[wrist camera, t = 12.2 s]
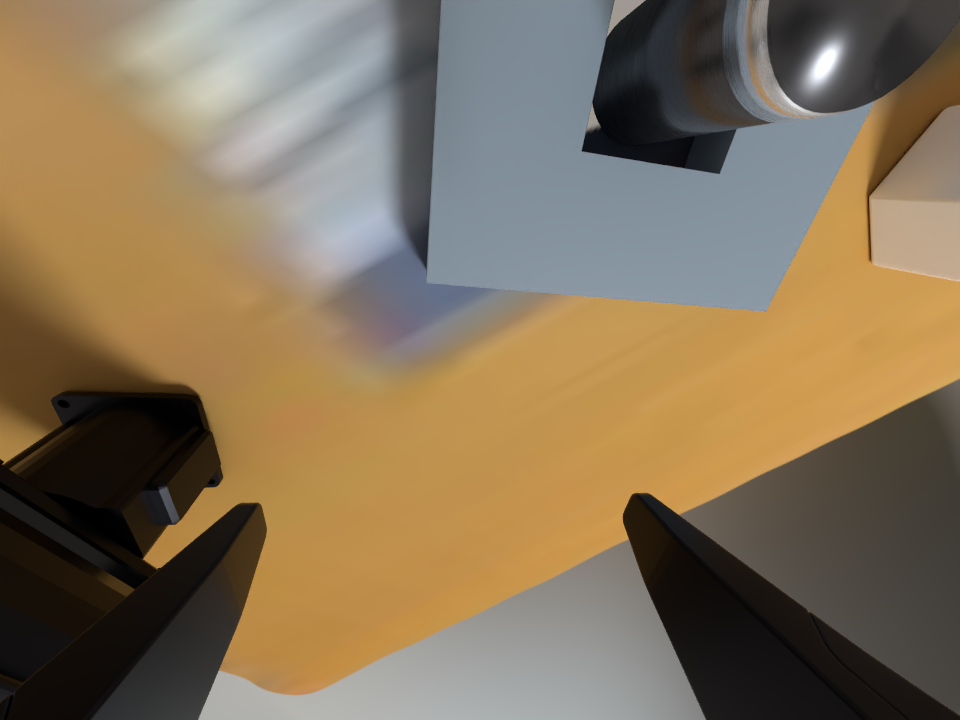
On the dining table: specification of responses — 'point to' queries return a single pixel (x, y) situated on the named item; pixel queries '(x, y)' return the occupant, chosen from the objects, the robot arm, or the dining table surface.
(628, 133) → the lens
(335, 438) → the dining table surface
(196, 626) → the robot arm
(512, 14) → the mount block
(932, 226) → the jar
